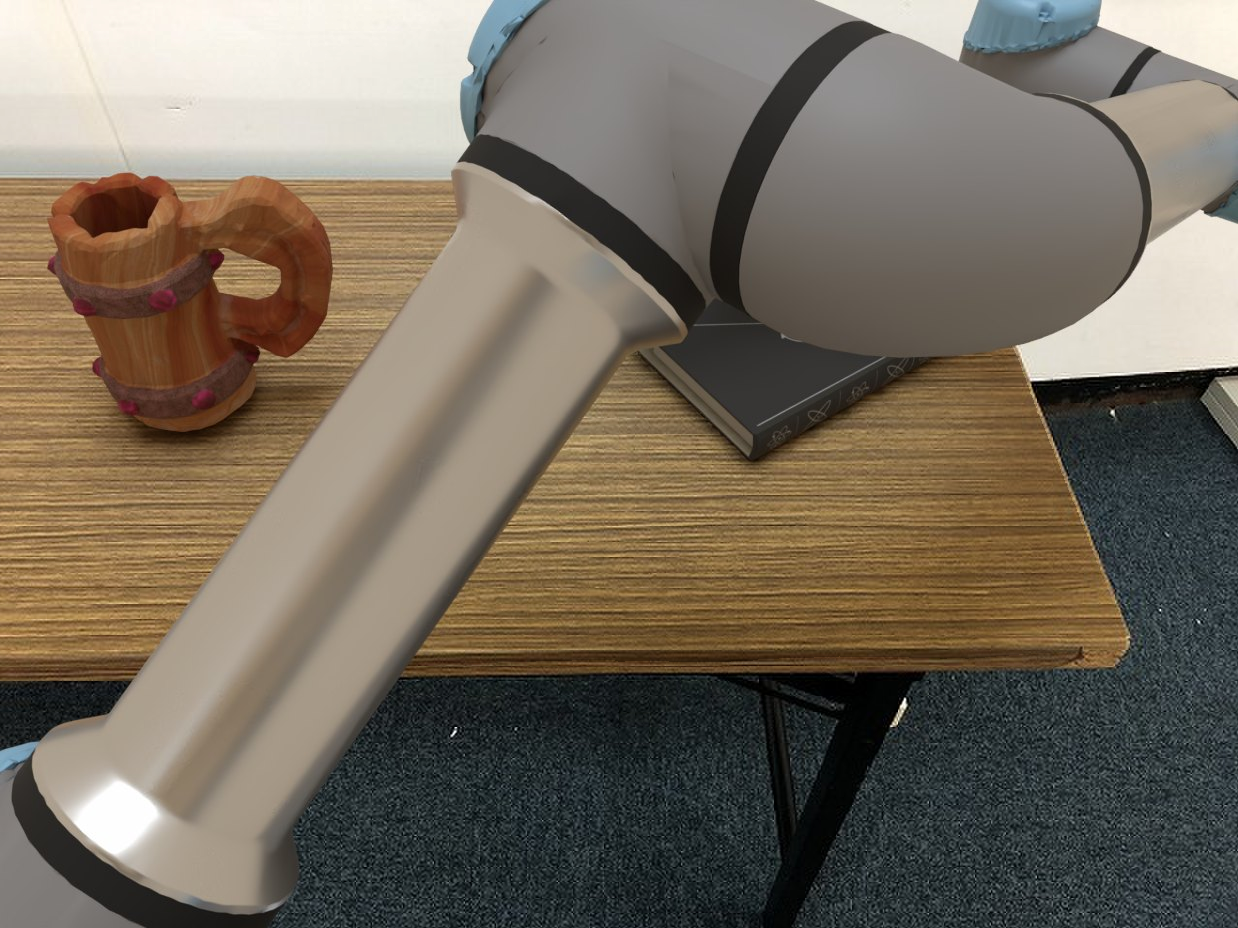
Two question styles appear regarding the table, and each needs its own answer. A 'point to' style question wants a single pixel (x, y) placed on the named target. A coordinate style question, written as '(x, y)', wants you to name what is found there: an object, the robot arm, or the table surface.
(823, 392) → the book
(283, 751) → the robot arm
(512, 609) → the table surface
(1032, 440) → the table surface
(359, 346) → the table surface
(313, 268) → the mug
